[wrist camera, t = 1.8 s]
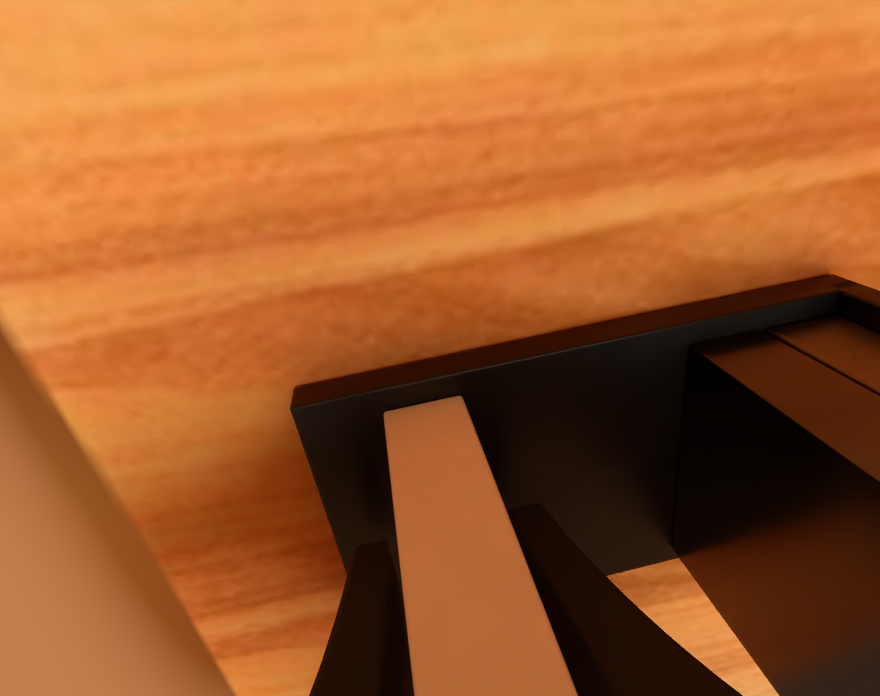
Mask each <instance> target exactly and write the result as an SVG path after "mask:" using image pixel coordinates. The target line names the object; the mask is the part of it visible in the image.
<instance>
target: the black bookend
mask: <svg viewBox="0 0 880 696" xmlns="http://www.w3.org/2000/svg"><path fill="white" fill-rule="evenodd" d="M454 396H462V398H463V400H464V402H465V405H466V407H467V410H468V413H469V415H470V418H471V420H472V423H473V426H474V428H475V431H476V433H477V436H478V438H479V441H480V444H481V446H482V449H483V451H484V454H485V457H486V459H487V462H488V464H489V467H490V469H491V472H492V475H493V477H494V480H495V482H496V485H497V488H498V490H499V493H500V495H501V498H502V500H503V503H504V506H505V508H506V511H507V513H508V516H509V510H511V509H516V508H520V507H524V506H528V505H532V504H537V503H539V504H541V505H542V506H544V507H545V509H546V510H547V511H548V513H549V514H550V515H551V516H552V517H553V519H554V520H555V521H556V522H557V524H558V525H559V526H560V527H561V528H562V529H563V531H564V532H565V533H566V534H567V535H568V536H569V538H570V539H571V540H572V541H573V542H574V543H575V544H576V545H577V546H578V548H579V549H580V550H581V551H582V552H583V553H584V554H585V555H586V556H587V557H588V558H589V559H590V560H591V562H592V563H593V564H594V565H595V566H596V567H597V568H598V569H599V570H600V571H601V572H602V573H603V574H604V575H605V576H608V575H612V574H616V573H620V572H624V571H628V570H632V569H636V568H640V567H644V566H648V565H652V564H656V563H660V562H664V561H668V560H672V559H676V558H680V560H681V561H682V562H683V564H684V565H685V567H686V568H687V569H688V571H689V572H690V573H691V575H692V576H693V577H694V579H695V580H696V582H697V583H698V584H699V586H700V587H701V588H702V590H703V591H704V593H705V594H706V595H707V597H708V598H709V599H710V601H711V602H712V604H713V605H714V606H715V608H716V609H717V610H718V612H719V613H720V615H721V616H722V617H723V619H724V620H725V621H726V623H727V624H728V626H729V627H730V628H731V630H732V631H733V632H734V634H735V635H736V637H737V638H738V639H739V641H740V642H741V643H742V645H743V646H744V648H745V649H746V650H747V652H748V653H749V654H750V656H751V657H752V659H753V660H754V661H755V663H756V664H757V665H758V667H759V668H760V670H761V671H762V672H763V674H764V675H765V676H766V678H767V679H768V681H769V682H770V683H771V685H772V686H773V687H774V689H775V690H776V692H777V693H778V694H779V696H880V291H878V290H876V289H873V288H870V287H867V286H864V285H862V284H859V283H856V282H853V281H850V280H847V279H844V278H842V277H839V276H836V275H828V276H823V277H818V278H813V279H809V280H804V281H799V282H794V283H790V284H785V285H780V286H776V287H771V288H766V289H761V290H757V291H752V292H747V293H742V294H738V295H733V296H728V297H723V298H719V299H714V300H709V301H704V302H700V303H695V304H690V305H685V306H681V307H676V308H671V309H666V310H662V311H657V312H652V313H647V314H643V315H638V316H633V317H629V318H624V319H619V320H614V321H610V322H605V323H600V324H595V325H591V326H586V327H581V328H576V329H572V330H567V331H562V332H557V333H553V334H548V335H543V336H538V337H534V338H529V339H524V340H519V341H515V342H510V343H505V344H500V345H496V346H491V347H486V348H481V349H477V350H472V351H467V352H463V353H458V354H453V355H448V356H444V357H439V358H434V359H429V360H425V361H420V362H415V363H410V364H406V365H401V366H396V367H391V368H387V369H382V370H377V371H372V372H368V373H363V374H358V375H353V376H349V377H344V378H339V379H334V380H330V381H325V382H320V383H316V384H311V385H306V386H301V387H297V388H294V391H293V396H292V401H291V406H290V410H291V413H292V416H293V419H294V422H295V425H296V428H297V431H298V434H299V436H300V439H301V442H302V445H303V448H304V451H305V454H306V457H307V460H308V463H309V466H310V468H311V471H312V474H313V477H314V480H315V483H316V486H317V489H318V492H319V495H320V498H321V501H322V503H323V506H324V509H325V512H326V515H327V518H328V521H329V524H330V527H331V530H332V533H333V535H334V538H335V541H336V544H337V547H338V550H339V553H340V556H341V559H342V562H343V565H344V567H345V570H346V573H348V569H349V564H350V559H351V553H352V551H353V550H354V548H355V547H356V546H360V545H364V544H368V543H372V542H377V541H381V540H385V539H387V542H388V545H389V549H390V553H391V556H392V560H393V563H394V567H395V571H396V574H397V578H398V581H399V585H400V589H401V592H402V596H403V588H402V579H401V570H400V561H399V552H398V543H397V534H396V524H395V515H394V506H393V497H392V488H391V479H390V470H389V461H388V452H387V443H386V434H385V425H384V416H383V415H384V412H386V411H390V410H395V409H399V408H404V407H409V406H413V405H418V404H422V403H427V402H431V401H436V400H441V399H445V398H450V397H454ZM509 519H510V516H509ZM403 599H404V597H403Z"/></svg>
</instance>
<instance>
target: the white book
mask: <svg viewBox="0 0 880 696" xmlns="http://www.w3.org/2000/svg"><path fill="white" fill-rule="evenodd" d="M383 416H384V425H385V434H386V443H387V452H388V461H389V470H390V479H391V488H392V497H393V506H394V515H395V524H396V534H397V543H398V552H399V561H400V570H401V579H402V588H403V597H404V606H405V615H406V624H407V633H408V642H409V651H410V661H411V670H412V679H413V688H414V696H578V694H577V692H576V689H575V686H574V684H573V681H572V679H571V676H570V674H569V671H568V668H567V666H566V663H565V661H564V658H563V655H562V653H561V650H560V648H559V645H558V643H557V640H556V637H555V635H554V632H553V630H552V627H551V624H550V622H549V619H548V617H547V614H546V612H545V609H544V606H543V604H542V601H541V599H540V596H539V593H538V591H537V588H536V586H535V583H534V581H533V578H532V575H531V573H530V570H529V568H528V565H527V562H526V560H525V557H524V555H523V552H522V550H521V547H520V544H519V542H518V539H517V537H516V534H515V531H514V529H513V526H512V524H511V521H510V519H509V516H508V513H507V511H506V508H505V506H504V503H503V500H502V498H501V495H500V493H499V490H498V488H497V485H496V482H495V480H494V477H493V475H492V472H491V469H490V467H489V464H488V462H487V459H486V457H485V454H484V451H483V449H482V446H481V444H480V441H479V438H478V436H477V433H476V431H475V428H474V426H473V423H472V420H471V418H470V415H469V413H468V410H467V407H466V405H465V402H464V400H463V398H462V396H454V397H450V398H445V399H441V400H436V401H431V402H427V403H422V404H418V405H413V406H409V407H404V408H399V409H395V410H390V411H386V412H384V415H383Z"/></svg>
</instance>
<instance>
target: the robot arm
mask: <svg viewBox="0 0 880 696" xmlns="http://www.w3.org/2000/svg"><path fill="white" fill-rule="evenodd" d="M509 516H510V521H511V524H512V526H513V529H514V531H515V534H516V537H517V539H518V542H519V544H520V547H521V550H522V552H523V555H524V557H525V560H526V562H527V565H528V568H529V570H530V573H531V575H532V578H533V581H534V583H535V586H536V588H537V591H538V593H539V596H540V599H541V601H542V604H543V606H544V609H545V612H546V614H547V617H548V619H549V622H550V624H551V627H552V630H553V632H554V635H555V637H556V640H557V643H558V645H559V648H560V650H561V653H562V655H563V658H564V661H565V663H566V666H567V668H568V671H569V674H570V676H571V679H572V681H573V684H574V686H575V689H576V692H577V694H578V696H742V695H741V694H740V693H739V692H737V691H736V690H735V689H733V688H732V687H731V686H729V685H728V684H727V683H726V682H724V681H723V680H722V679H720V678H719V677H718V676H717V675H715V674H714V673H713V672H712V671H711V670H709V669H708V668H707V667H706V666H704V665H703V664H702V663H701V662H699V661H698V660H697V659H696V658H695V657H693V656H692V655H691V654H690V653H689V652H687V651H686V650H685V649H684V648H683V647H681V646H680V645H679V644H678V643H677V642H676V641H674V640H673V639H672V638H671V637H670V636H669V635H668V634H666V633H665V632H664V631H663V630H662V629H661V628H660V627H659V626H658V625H656V624H655V623H654V622H653V621H652V620H651V619H650V618H649V617H648V616H647V615H645V614H644V613H643V612H642V611H641V610H640V609H639V608H638V607H637V606H636V605H635V604H634V603H633V602H632V601H630V600H629V599H628V598H627V597H626V596H625V595H624V594H623V593H622V592H621V591H620V590H619V589H618V588H617V587H616V586H615V585H614V584H613V583H612V582H611V581H610V580H609V579H608V578H607V577H606V576H605V575H604V574H603V573H602V572H601V571H600V570H599V569H598V568H597V567H596V566H595V565H594V564H593V563H592V562H591V560H590V559H589V558H588V557H587V556H586V555H585V554H584V553H583V552H582V551H581V550H580V549H579V548H578V546H577V545H576V544H575V543H574V542H573V541H572V540H571V539H570V538H569V536H568V535H567V534H566V533H565V532H564V531H563V529H562V528H561V527H560V526H559V525H558V524H557V522H556V521H555V520H554V519H553V517H552V516H551V515H550V514H549V513H548V511H547V510H546V509H545V507H544V506H542V505H541V504H539V503H537V504H532V505H528V506H524V507H520V508H516V509H511V510H509ZM309 696H414V688H413V679H412V670H411V661H410V651H409V642H408V633H407V624H406V615H405V606H404V599H403V596H402V592H401V589H400V585H399V581H398V578H397V574H396V571H395V567H394V563H393V560H392V556H391V553H390V549H389V545H388V542H387V539H385V540H381V541H377V542H372V543H368V544H364V545H360V546H356V547H355V548H354V550H353V551H352V553H351V559H350V564H349V569H348V573H347V578H346V582H345V586H344V590H343V594H342V597H341V601H340V605H339V608H338V612H337V615H336V619H335V622H334V625H333V628H332V631H331V634H330V637H329V640H328V644H327V647H326V650H325V653H324V656H323V659H322V662H321V665H320V668H319V671H318V673H317V676H316V679H315V681H314V684H313V687H312V689H311V692H310V695H309Z"/></svg>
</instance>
